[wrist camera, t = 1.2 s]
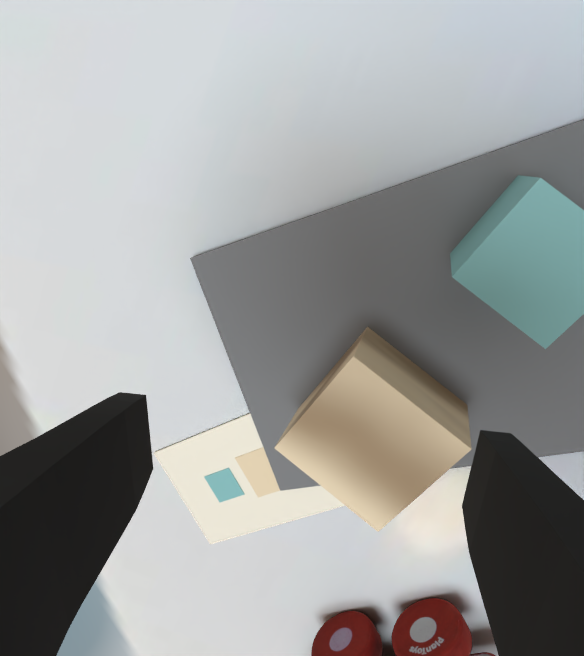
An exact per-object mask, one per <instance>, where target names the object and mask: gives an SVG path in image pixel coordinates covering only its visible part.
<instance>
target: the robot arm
mask: <svg viewBox="0 0 584 656" xmlns="http://www.w3.org/2000/svg"><path fill="white" fill-rule="evenodd" d="M152 470H153V462H152V452H151V442H150V432H149V422H148V411H147V401H146V395H140V394H130V393H121V392H120V393H117V394H115V395H113V396H111V397H109V398H107V399H105V400H103V401H101V402H100V403H98V404H96V405H94V406H92V407H90V408H89V409H87V410H85V411H83V412H82V413H80V414H78V415H76V416H75V417H73V418H71V419H69V420H67V421H66V422H64V423H62V424H60V425H58V426H57V427H55V428H53V429H51V430H49V431H48V432H46V433H44V434H42V435H40V436H39V437H37V438H35V439H33V440H31V441H29V442H27V443H26V444H23V445H22V446H19V447H17V448H15V449H13V450H12V451H10V452H8V453H6V454H4V455H2V456H0V656H56V655H57V653H58V650H59V648H60V646H61V644H62V642H63V640H64V637H65V635H66V633H67V631H68V629H69V627H70V625H71V623H72V621H73V619H74V618H75V616H76V614H77V612H78V610H79V608H80V606H81V604H82V603H83V601H84V599H85V598H86V596H87V594H88V592H89V591H90V589H91V587H92V586H93V584H94V582H95V580H96V579H97V577H98V575H99V574H100V572H101V570H102V568H103V567H104V565H105V563H106V562H107V560H108V558H109V556H110V555H111V553H112V551H113V550H114V548H115V546H116V544H117V543H118V541H119V539H120V537H121V536H122V534H123V532H124V530H125V529H126V527H127V525H128V523H129V522H130V520H131V518H132V516H133V514H134V513H135V511H136V509H137V507H138V504H139V502H140V500H141V497H142V495H143V493H144V490H145V488H146V485H147V483H148V480H149V478H150V475H151V473H152ZM462 508H463V515H464V522H465V529H466V536H467V542H468V548H469V553H470V557H471V560H472V564H473V568H474V571H475V575H476V578H477V582H478V585H479V589H480V592H481V596H482V599H483V603H484V606H485V610H486V613H487V617H488V620H489V624H490V627H491V630H492V634H493V637H494V641H495V644H496V648H497V651H498V655H499V656H584V500H583V499H582V498H581V497H580V496H578V495H577V494H576V493H575V492H574V491H573V490H572V489H571V488H570V487H569V486H567V485H566V484H565V483H564V482H563V481H562V480H561V479H560V478H559V477H558V476H557V475H556V474H555V473H554V472H553V471H551V470H550V469H549V468H548V467H547V466H546V465H545V464H544V463H543V462H542V461H541V460H540V459H539V458H538V457H537V456H536V455H535V454H533V453H532V452H531V451H530V450H529V449H528V448H527V447H526V446H525V445H524V444H523V443H522V442H521V441H519V440H518V439H517V438H516V437H515V436H514V435H512V434H511V433H505V432H495V431H486V430H480V433H479V437H478V441H477V446H476V450H475V454H474V458H473V462H472V467H471V471H470V475H469V479H468V483H467V487H466V492H465V496H464V500H463V504H462Z"/></svg>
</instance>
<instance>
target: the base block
mask: <svg viewBox="0 0 584 656" xmlns="http://www.w3.org/2000/svg"><path fill="white" fill-rule="evenodd" d="M275 449H276V450H277V451H278V452H280V453H281V454H282V455H283V456H285V457H286V458H287V459H288V460H290V461H291V462H292V463H293V464H294V465H296V466H297V467H298V468H299V469H301V470H302V471H303V472H304V473H306V474H307V475H308V476H309V477H311V478H312V479H313V480H314V481H316V482H317V483H318V484H319V485H321V486H322V487H323V488H324V489H326V490H327V491H328V492H329V493H331V494H332V495H333V496H334V497H335V498H337V499H338V500H339V501H340V502H342V503H343V504H344V505H345V506H347V507H348V508H349V509H350V510H352V511H353V512H354V513H355V514H357V515H358V516H359V517H360V518H362V519H363V520H364V521H365V522H367V523H368V524H369V525H370V526H372V527H373V528H374V529H375V530H377V531H380V530H381V529H382V528H383V527H384V526H385V525H386V524H387V523H389V522H390V521H391V520H392V519H393V518H394V517H395V516H397V515H398V514H399V513H400V512H401V511H402V510H403V509H404V508H406V507H407V506H408V505H409V504H410V503H411V502H412V501H414V500H415V499H416V498H417V497H418V496H419V495H420V494H422V493H423V492H424V491H425V490H426V489H427V488H428V487H429V486H431V485H432V484H433V483H434V482H435V481H436V480H437V479H439V478H440V477H441V476H442V475H443V474H444V473H445V472H446V471H448V470H449V469H450V468H451V467H452V466H453V465H454V464H456V463H457V462H458V461H459V460H460V459H461V458H462V457H463V456H465V455H466V454H467V453H468V452H469V451H470V450H471V449H472V448H471V438H470V428H469V417H468V407H467V404H466V403H464V402H463V401H462V400H460V399H459V398H458V397H457V396H455V395H454V394H453V393H452V392H450V391H449V390H448V389H446V388H445V387H444V386H443V385H441V384H440V383H439V382H438V381H436V380H435V379H434V378H432V377H431V376H430V375H429V374H427V373H426V372H425V371H423V370H422V369H421V368H420V367H418V366H417V365H416V364H415V363H413V362H412V361H411V360H409V359H408V358H407V357H406V356H404V355H403V354H402V353H401V352H399V351H398V350H397V349H395V348H394V347H393V346H392V345H390V344H389V343H388V342H386V341H385V340H384V339H383V338H381V337H380V336H379V335H378V334H376V333H375V332H374V331H372V330H371V329H370V328H369V327H367V328H366V329H365V330H364V332H363V333H362V334H361V335H360V336H359V337H358V339H357V340H356V341H355V342H354V343H353V345H352V346H351V347H350V348H349V349H348V350H347V352H346V353H345V354H344V355H343V356H342V357H341V359H340V360H339V361H338V362H337V363H336V365H335V366H334V367H333V368H332V369H331V370H330V372H329V373H328V374H327V375H326V376H325V378H324V379H323V380H322V381H321V382H320V383H319V385H318V386H317V387H316V388H315V389H314V390H313V392H312V393H311V394H310V395H309V396H308V398H307V399H306V400H305V401H304V402H303V403H302V405H301V406H300V407H299V408H298V410H297V411H296V413H295V415H294V416H293V418H292V420H291V421H290V423H289V425H288V426H287V428H286V430H285V431H284V433H283V434H282V436H281V438H280V439H279V441H278V443H277V444H276V446H275Z"/></svg>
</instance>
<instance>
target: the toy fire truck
mask: <svg viewBox="0 0 584 656" xmlns="http://www.w3.org/2000/svg"><path fill="white" fill-rule="evenodd" d="M392 646H393V649H394V652H395V655H396V656H495V655H494V654H491V653H487V652H482V653H476V654H470V652H471V648H472V637H471V633H470V630H469V628H468V626H467V624H466V622H465V620H464V619H463V617H462V615H461V613H460V612H459V611H458V609H457V608H456V607H455V606H454V605H453V604H452V603H450V602H448V601H446V600H443V599H437V598H430V599H425V600H421V601H418V602H416V603H414V604H412V605H411V606H409V607H408V608H407V609H406V610H404V611H403V613H402V614H401V615H400V616H399V618H398V619H397V621H396V623H395V626H394V629H393V632H392ZM312 656H382V641H381V637H380V635H379V633H378V632H377V630H376V628H375V626H374V624H373V623H372V621H371V620H370V619H369V618H368V617H367V616H366V615H365V614H363V613H361V612H357V611H347V612H343V613H340V614H337V615H336V616H334V617H332V618H331V619H329V620H328V621H327V622H325V623H324V625H323V626H322V627H321V628H320V630H319V631H318V633H317V635H316V637H315V639H314V642H313V646H312Z"/></svg>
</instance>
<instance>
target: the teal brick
mask: <svg viewBox="0 0 584 656" xmlns="http://www.w3.org/2000/svg"><path fill="white" fill-rule="evenodd" d="M450 259H451V273H452V277H453V278H454V279H455V280H456V281H458V282H459V283H460V284H462V285H463V286H464V287H466V288H467V289H468V290H469V291H471V292H472V293H473V294H475V295H476V296H477V297H479V298H480V299H481V300H482V301H484V302H485V303H486V304H488V305H489V306H490V307H491V308H493V309H494V310H495V311H497V312H498V313H499V314H501V315H502V316H503V317H504V318H506V319H507V320H508V321H510V322H511V323H512V324H513V325H515V326H516V327H517V328H519V329H520V330H521V331H523V332H524V333H525V334H526V335H528V336H529V337H530V338H532V339H533V340H534V341H536V342H537V343H538V344H539V345H541V346H542V347H543V348H545V349H546V348H547V347H548V346H549V345H551V344H552V343H553V342H554V341H555V340H556V339H557V338H558V337H559V336H560V335H561V334H562V333H564V332H565V331H566V330H567V329H568V328H569V327H570V326H571V325H572V324H573V323H574V322H576V321H577V320H578V319H579V318H580V317H581V316H582V315H583V314H584V210H583V209H582V208H580V207H579V206H578V205H576V204H575V203H574V202H572V201H571V200H570V199H568V198H567V197H566V196H564V195H563V194H562V193H560V192H559V191H558V190H556V189H555V188H554V187H552V186H551V185H550V184H548V183H547V182H546V181H544V180H543V179H542V178H539V177H530V176H520V175H518V176H517V177H516V178H515V179H514V181H513V182H512V183H511V184H510V185H509V186H508V187H507V189H506V190H505V191H504V192H503V193H502V194H501V195H500V197H499V198H498V199H497V200H496V201H495V202H494V204H493V205H492V206H491V207H490V208H489V209H488V210H487V212H486V213H485V214H484V215H483V216H482V217H481V218H480V220H479V221H478V222H477V223H476V224H475V225H474V226H473V228H472V229H471V230H470V231H469V232H468V233H467V235H466V236H465V237H464V238H463V239H462V240H461V241H460V243H459V244H458V245H457V246H456V247H455V248H454V249H453V251H452V252H451V253H450Z"/></svg>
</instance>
